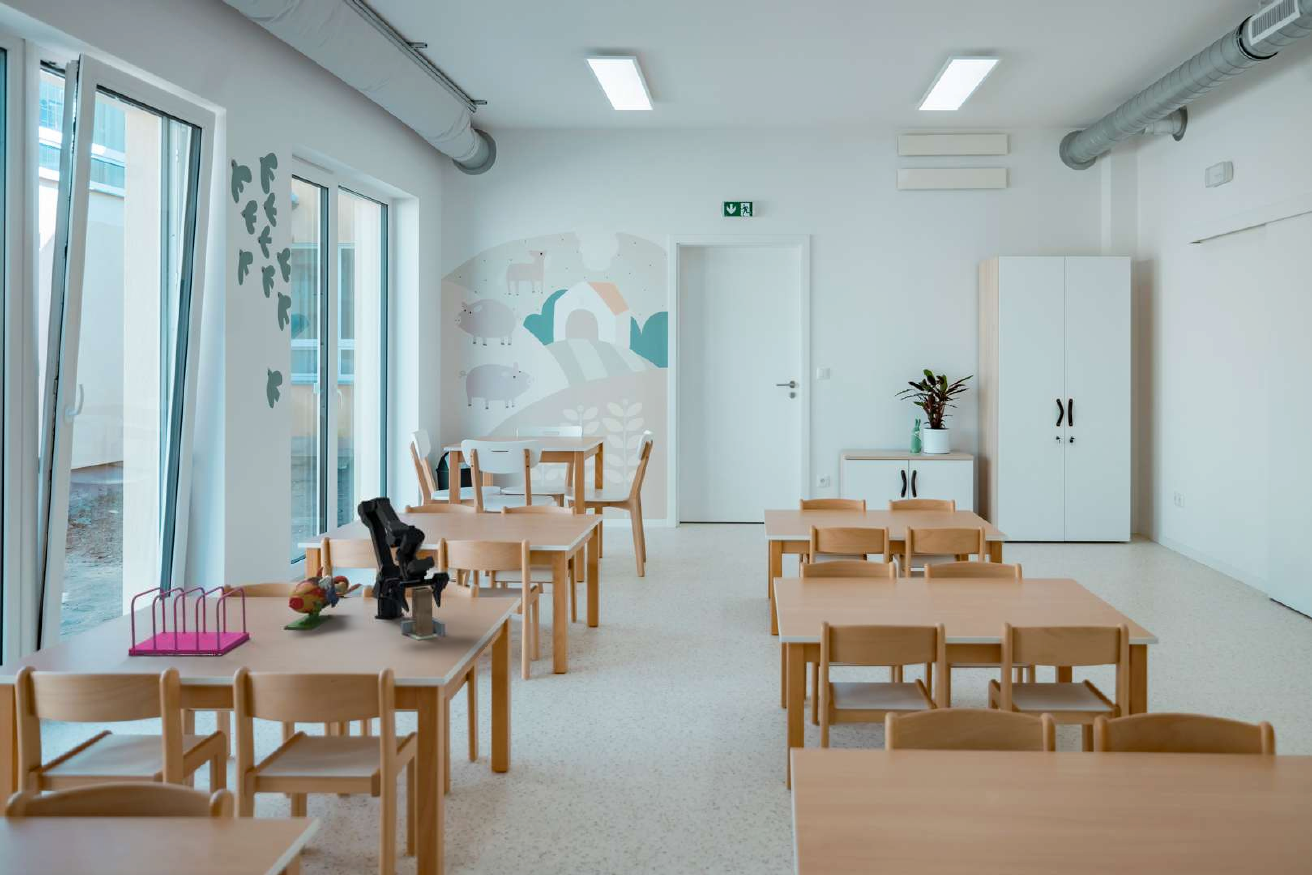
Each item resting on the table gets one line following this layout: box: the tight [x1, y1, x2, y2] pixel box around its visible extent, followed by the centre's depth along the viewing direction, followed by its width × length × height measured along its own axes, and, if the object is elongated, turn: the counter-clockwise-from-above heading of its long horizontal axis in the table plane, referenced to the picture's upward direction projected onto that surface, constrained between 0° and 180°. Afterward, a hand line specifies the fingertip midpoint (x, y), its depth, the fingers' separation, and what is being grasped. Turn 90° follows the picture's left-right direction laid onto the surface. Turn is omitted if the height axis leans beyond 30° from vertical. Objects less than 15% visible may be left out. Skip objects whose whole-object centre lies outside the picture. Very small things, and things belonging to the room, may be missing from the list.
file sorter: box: [128, 585, 250, 656], centre depth 265 cm, size 17×25×16 cm
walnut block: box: [411, 586, 434, 637], centre depth 275 cm, size 5×4×13 cm
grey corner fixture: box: [400, 616, 446, 641], centre depth 276 cm, size 9×10×4 cm
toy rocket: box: [283, 566, 342, 631], centre depth 290 cm, size 14×25×15 cm, turn 173°
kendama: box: [333, 575, 350, 597], centre depth 324 cm, size 8×6×18 cm
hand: (424, 608), depth 273 cm, fingers open, 9 cm apart
